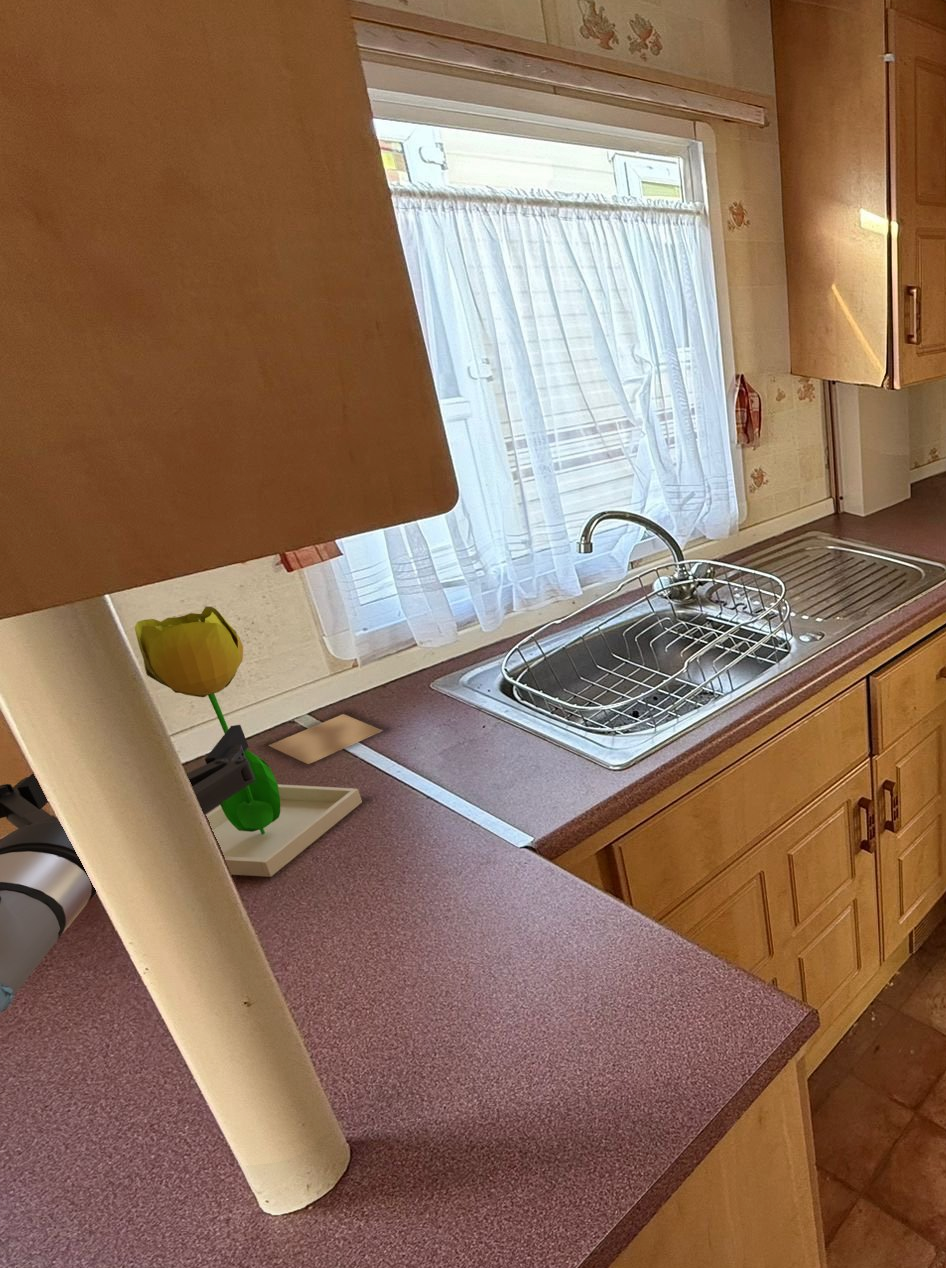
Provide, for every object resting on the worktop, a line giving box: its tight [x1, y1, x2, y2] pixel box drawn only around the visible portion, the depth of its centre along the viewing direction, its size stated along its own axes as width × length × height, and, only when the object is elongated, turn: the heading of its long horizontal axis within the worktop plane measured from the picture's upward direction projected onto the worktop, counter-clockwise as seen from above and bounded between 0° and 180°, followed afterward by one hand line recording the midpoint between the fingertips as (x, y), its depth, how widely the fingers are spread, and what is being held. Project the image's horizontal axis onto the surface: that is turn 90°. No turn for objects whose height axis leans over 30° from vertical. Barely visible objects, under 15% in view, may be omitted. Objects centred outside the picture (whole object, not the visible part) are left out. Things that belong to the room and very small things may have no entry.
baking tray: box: [205, 783, 363, 878], centre depth 106 cm, size 14×14×3 cm
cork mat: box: [267, 713, 384, 765], centre depth 125 cm, size 10×10×1 cm
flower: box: [134, 606, 280, 834], centre depth 100 cm, size 9×8×30 cm
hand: (156, 748), depth 87 cm, fingers open, 13 cm apart
